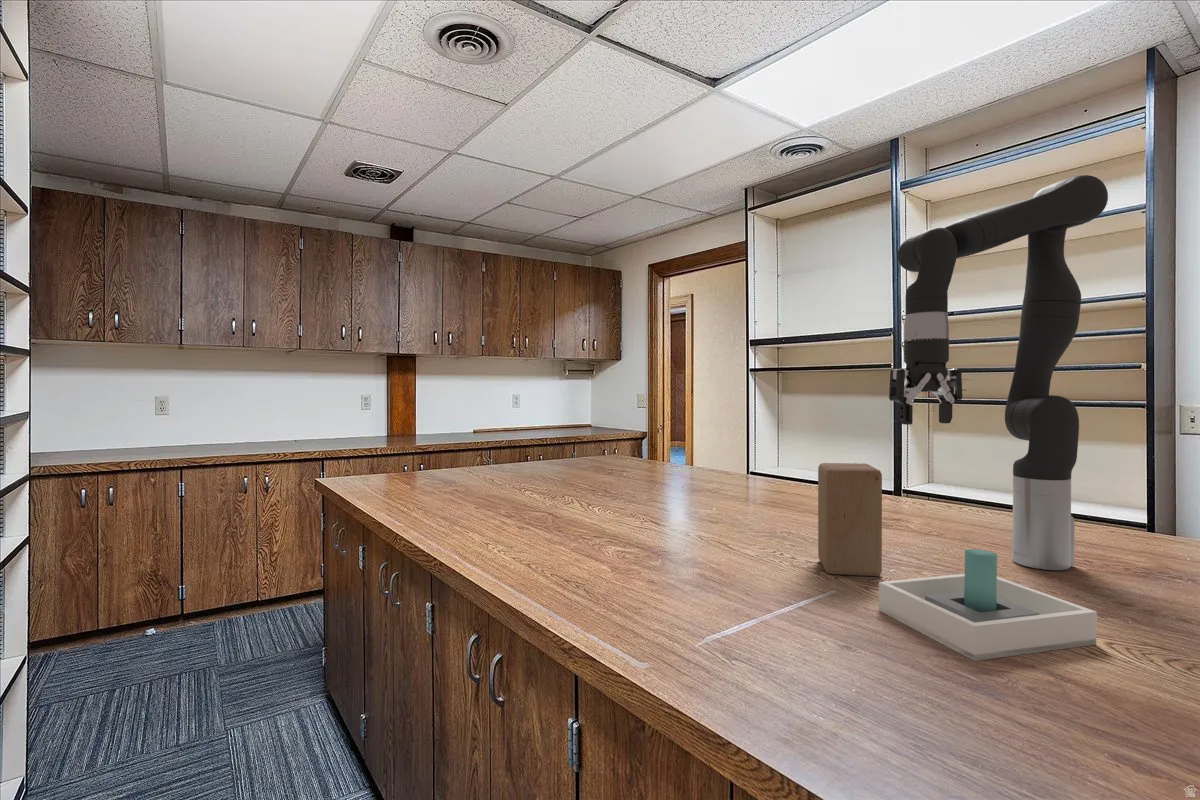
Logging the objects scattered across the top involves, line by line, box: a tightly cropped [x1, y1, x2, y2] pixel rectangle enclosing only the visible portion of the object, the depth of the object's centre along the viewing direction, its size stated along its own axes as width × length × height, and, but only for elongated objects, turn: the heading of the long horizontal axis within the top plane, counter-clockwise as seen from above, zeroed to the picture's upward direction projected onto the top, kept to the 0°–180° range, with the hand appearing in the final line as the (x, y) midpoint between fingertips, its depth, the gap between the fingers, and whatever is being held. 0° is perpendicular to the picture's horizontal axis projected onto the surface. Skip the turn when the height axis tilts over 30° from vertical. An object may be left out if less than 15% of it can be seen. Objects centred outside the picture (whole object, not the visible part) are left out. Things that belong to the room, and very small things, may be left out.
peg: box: [964, 548, 998, 612], centre depth 88 cm, size 4×4×10 cm
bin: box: [878, 573, 1098, 662], centre depth 88 cm, size 20×18×4 cm
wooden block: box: [817, 462, 883, 577], centre depth 116 cm, size 10×10×20 cm
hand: (925, 423), depth 113 cm, fingers open, 8 cm apart
